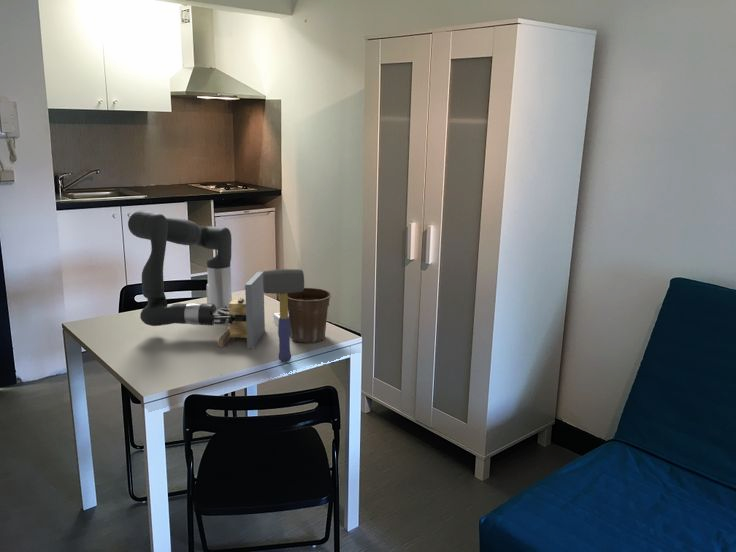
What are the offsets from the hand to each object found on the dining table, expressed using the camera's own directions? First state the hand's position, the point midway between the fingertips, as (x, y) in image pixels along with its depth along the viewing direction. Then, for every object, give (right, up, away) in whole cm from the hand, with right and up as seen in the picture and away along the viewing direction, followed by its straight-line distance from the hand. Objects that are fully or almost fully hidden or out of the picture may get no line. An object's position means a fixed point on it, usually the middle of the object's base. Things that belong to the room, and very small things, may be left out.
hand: (248, 315), depth 208 cm
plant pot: (+20, -8, +4) cm, 22 cm away
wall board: (-2, -8, +2) cm, 9 cm away
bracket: (+11, -5, +17) cm, 21 cm away
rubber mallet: (+15, -14, -18) cm, 27 cm away
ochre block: (-3, -7, +2) cm, 7 cm away
